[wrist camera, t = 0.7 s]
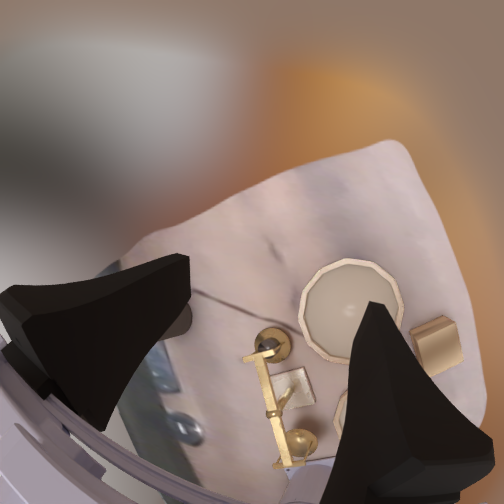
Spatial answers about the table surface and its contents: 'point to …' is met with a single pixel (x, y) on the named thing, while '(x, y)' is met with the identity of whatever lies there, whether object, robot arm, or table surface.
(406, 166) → the table surface
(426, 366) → the maple block
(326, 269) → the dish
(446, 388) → the table surface
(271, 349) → the balance scale
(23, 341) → the robot arm
